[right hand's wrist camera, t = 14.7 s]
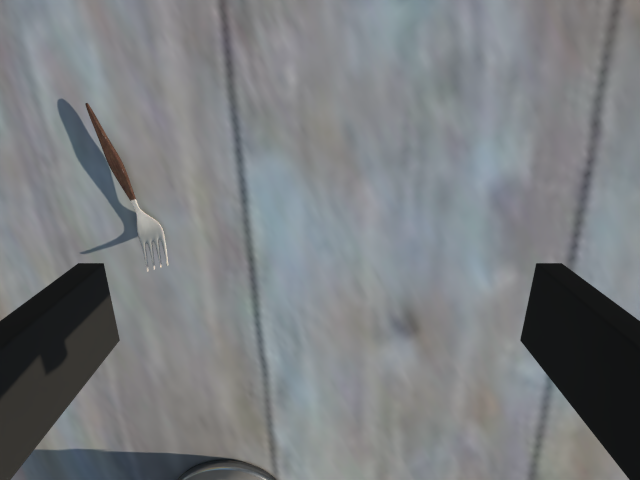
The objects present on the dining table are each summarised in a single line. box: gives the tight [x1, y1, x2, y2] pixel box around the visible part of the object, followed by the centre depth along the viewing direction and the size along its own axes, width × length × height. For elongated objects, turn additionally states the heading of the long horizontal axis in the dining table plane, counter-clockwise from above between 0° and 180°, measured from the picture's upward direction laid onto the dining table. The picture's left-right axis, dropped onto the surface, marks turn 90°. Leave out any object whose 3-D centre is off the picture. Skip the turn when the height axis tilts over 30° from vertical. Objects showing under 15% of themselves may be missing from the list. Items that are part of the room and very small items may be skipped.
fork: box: [86, 103, 168, 272], centre depth 38 cm, size 3×16×2 cm, turn 17°
